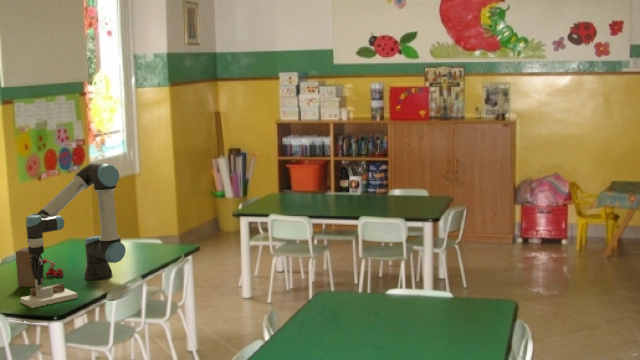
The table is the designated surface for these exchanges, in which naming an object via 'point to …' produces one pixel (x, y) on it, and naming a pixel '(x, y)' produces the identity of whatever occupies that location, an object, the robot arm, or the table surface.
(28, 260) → the block
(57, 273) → the toy fire truck
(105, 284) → the table surface
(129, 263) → the table surface
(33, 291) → the folding leg
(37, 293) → the white slotted base
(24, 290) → the table surface
